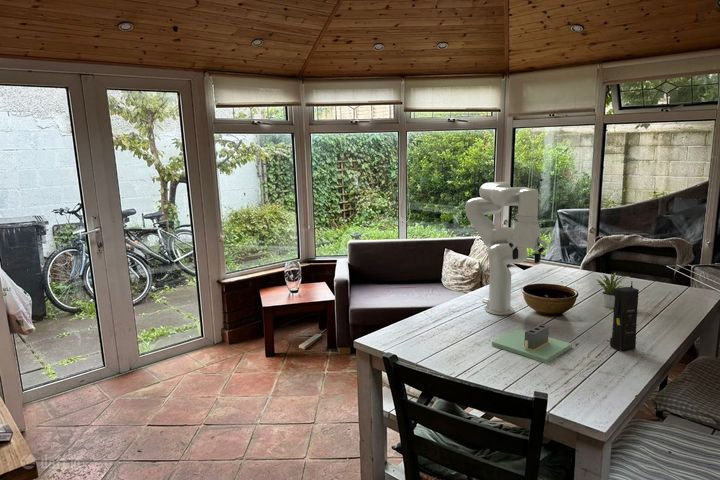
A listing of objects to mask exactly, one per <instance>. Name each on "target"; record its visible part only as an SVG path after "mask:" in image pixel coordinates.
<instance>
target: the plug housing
mask: <svg viewBox="0 0 720 480" xmlns="http://www.w3.org/2000/svg"><path fill="white" fill-rule="evenodd" d="M549 329H550V326H548V325H544V324H541V323H539V324H538V325H535V326H533V327H531V328H529V329H528V330H525V341H528V348H529V349H533V350H534V349H536V348H537V347H539V346H541V345H543V344H544V343H546V342H548V337H549ZM524 347H525V343H524Z"/></svg>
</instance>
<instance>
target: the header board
mask: <svg viewBox="0 0 720 480" xmlns="http://www.w3.org/2000/svg"><path fill="white" fill-rule="evenodd" d="M525 331H526V330H524V329H521V328H516V329H514V330H513V331H511V332H509V333H507V334H505V335H503V336H501V337H499V338H496V339H494V340H492V341H491V346H493V347H496V348H498V349H502V350H505V351H507V352H511V353H514V354H517V355H519V356H523V357H527V358H528V359H529V358H530V359H533V360H536V361H538V362H540V363H541V362H542V363H545V364H547V363H549V362H551V361H553V360H554V359H555V358H557V357H559V356H560V355H561V354H562V355H563V354H564V353H565V352H567V351H569V350H570V349H572V347H573V345H572V343H570V342H566V341H563V340H559V339H557V338H553V337H549V336H548V342H546V343H544V344H543V345H541V346H539V347H537V348H536V349H534V350H533V349H529V348H528V341H525ZM524 343H525V347H524Z"/></svg>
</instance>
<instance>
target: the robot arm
mask: <svg viewBox="0 0 720 480" xmlns="http://www.w3.org/2000/svg"><path fill="white" fill-rule="evenodd" d="M478 194H479V196H480V197H473V198H470V199H468V200H467V201H466V203H465V206H464V207H465V208H464V210H465V214H466V215H465V216H466V217H467V218H466V219H468V221H469V223H470V224H471V225H472V227H473V228H474V229H475V230H476V232H477V234H478V236H479V237H480V239H481V240H482V242H483V243H484V246H486V248H488V250H487V257H488V265H489V290H488V291H489V293H488V297H489V298H486V297H484V298H483V300H482V304H486V306H485V311H486V312H487V313H489V314H493V315H496V316H498V315H499V316H500V315H501V316H505V315H511V314H513V313H514V311H515V309H514V308H513V307H512V306H511V300H512V299H511V298H512V296H511V295H512V294H511V293H512V273H511V271H510V268H508V266H507V265H513V264H521V263H524V262H525V261H527V259H528V257H529V256H528V255H529V254H528V250H527V249H529V250H530V249H531V250H534V252H535V253H534V264H539V263H540V262H541V259H542V257H541V256H542V253H543V252H544V251H545V250H546V248H547V246H548V245H549V244H548V242H546V241H545V240H543V239H542V238H541V228H540V224H539V223H538V217H539V215H538V213H539V195H540V193H539V191H538V189H536V188H530V187H527V186H521V187H520V186H517V187H516V186H515V187H514V186H513V187H511V185H510V183H508V182H505V181H491V182H485V183H483V184H482V185H481V186H480V188H479V190H478ZM509 206H510V207H511V206H517V207H518V208H517V210H518V211H517V215H515V217H514V218H515V219H516V220H517V221H516V222H515V224H514V228H513V227H509V226H501V227H500V226H499V227H498V226H497V225H495V223H494V222H493V220H492V219H491V218H489V217H488V216H486V215H497V214H499V213H500V212H502V211H503V209H504V208H505V207H509ZM540 246H541V247H540Z"/></svg>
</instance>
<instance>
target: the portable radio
mask: <svg viewBox="0 0 720 480" xmlns="http://www.w3.org/2000/svg"><path fill="white" fill-rule="evenodd" d="M633 283H634V281H630V284H631V285H630V286H623V287H620V288H617V287H616V288H614V294H613V295H614V296H615V303H614V308H613V319H612V331H611V337H610V339H609V340H610V341H609V345H610V347H612V348H614V349H616V350H618V351H620V352H626V351H631V350H635V349H637V343H636V340H637V324H638V322H637V321H638V320H637V319H638V305H639V294H640V293H639V292H640V291H639V289H638V288H634V287H633Z"/></svg>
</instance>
